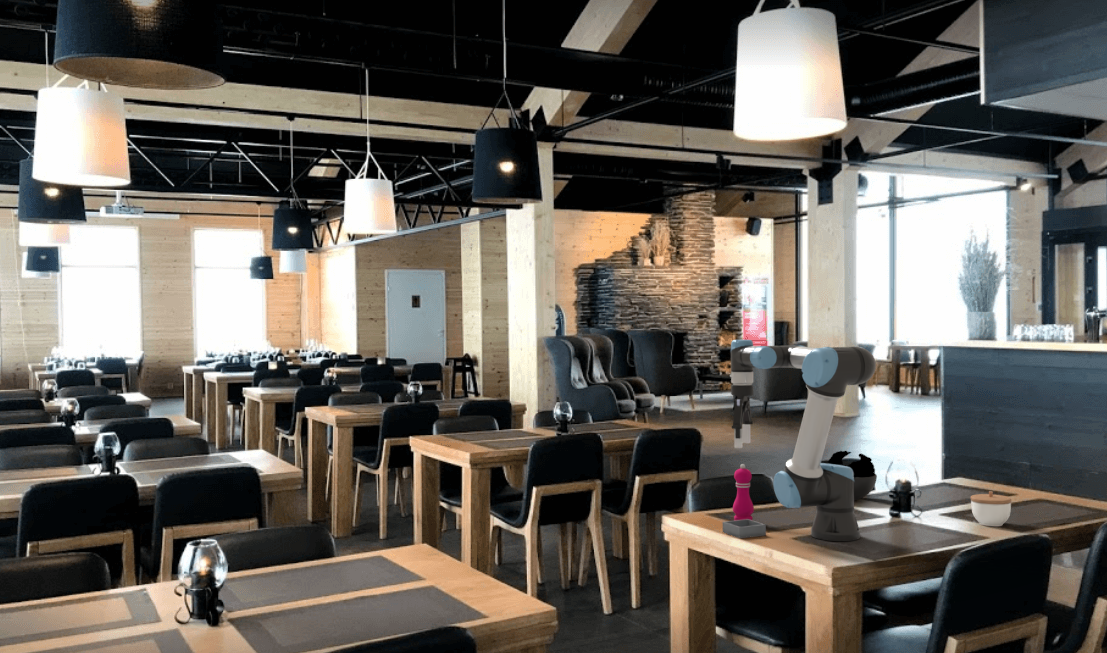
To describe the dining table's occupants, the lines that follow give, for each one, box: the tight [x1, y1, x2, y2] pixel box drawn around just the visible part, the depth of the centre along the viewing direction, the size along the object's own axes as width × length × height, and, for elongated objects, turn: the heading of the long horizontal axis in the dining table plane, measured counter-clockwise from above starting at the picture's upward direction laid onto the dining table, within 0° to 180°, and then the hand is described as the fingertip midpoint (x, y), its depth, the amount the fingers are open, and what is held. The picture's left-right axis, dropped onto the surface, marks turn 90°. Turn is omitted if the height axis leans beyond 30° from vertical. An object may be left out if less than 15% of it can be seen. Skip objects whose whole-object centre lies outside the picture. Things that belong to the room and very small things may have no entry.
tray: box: [722, 519, 767, 539], centre depth 326 cm, size 10×10×4 cm
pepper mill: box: [732, 463, 755, 521], centre depth 346 cm, size 7×7×20 cm
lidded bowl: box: [970, 491, 1012, 527], centre depth 337 cm, size 13×13×11 cm
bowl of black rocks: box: [826, 450, 878, 501], centre depth 385 cm, size 20×20×19 cm
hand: (742, 445), depth 346 cm, fingers open, 13 cm apart
